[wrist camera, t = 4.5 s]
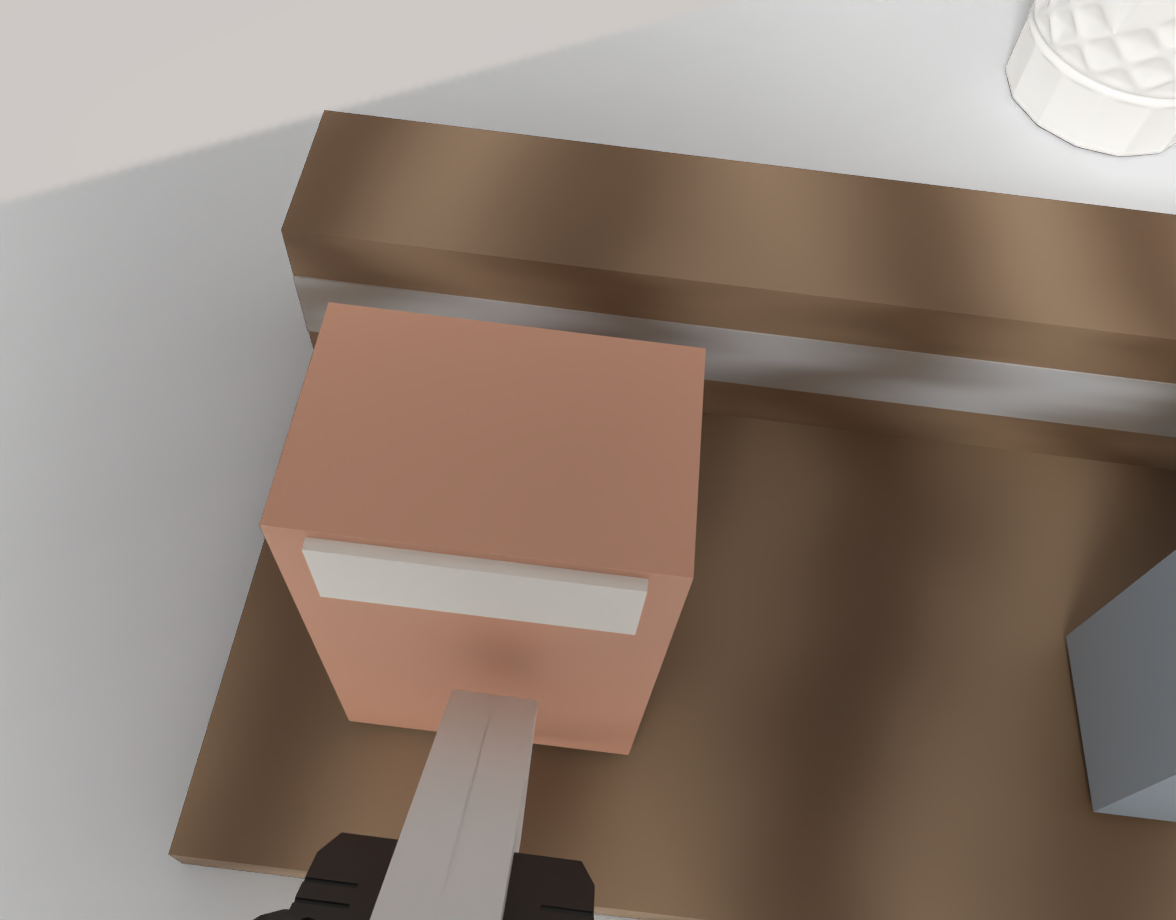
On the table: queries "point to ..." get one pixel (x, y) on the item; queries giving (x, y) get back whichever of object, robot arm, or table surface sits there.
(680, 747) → the wooden display shelf
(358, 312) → the salmon orange box
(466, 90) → the table surface
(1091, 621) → the blue gray box
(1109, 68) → the white cup
